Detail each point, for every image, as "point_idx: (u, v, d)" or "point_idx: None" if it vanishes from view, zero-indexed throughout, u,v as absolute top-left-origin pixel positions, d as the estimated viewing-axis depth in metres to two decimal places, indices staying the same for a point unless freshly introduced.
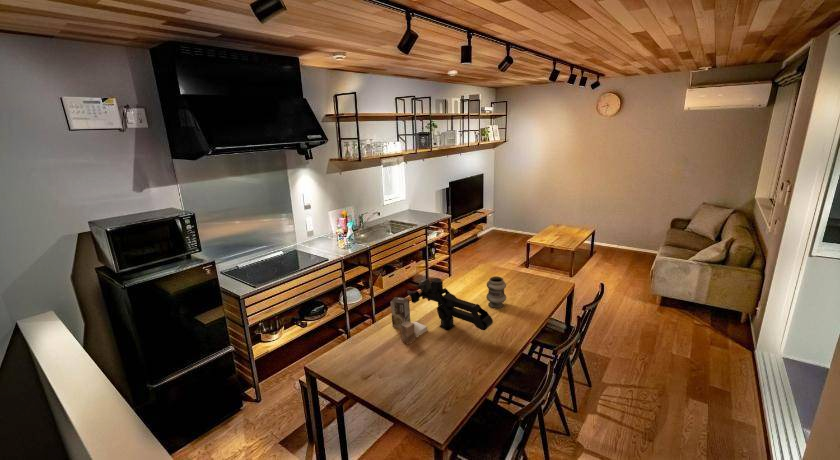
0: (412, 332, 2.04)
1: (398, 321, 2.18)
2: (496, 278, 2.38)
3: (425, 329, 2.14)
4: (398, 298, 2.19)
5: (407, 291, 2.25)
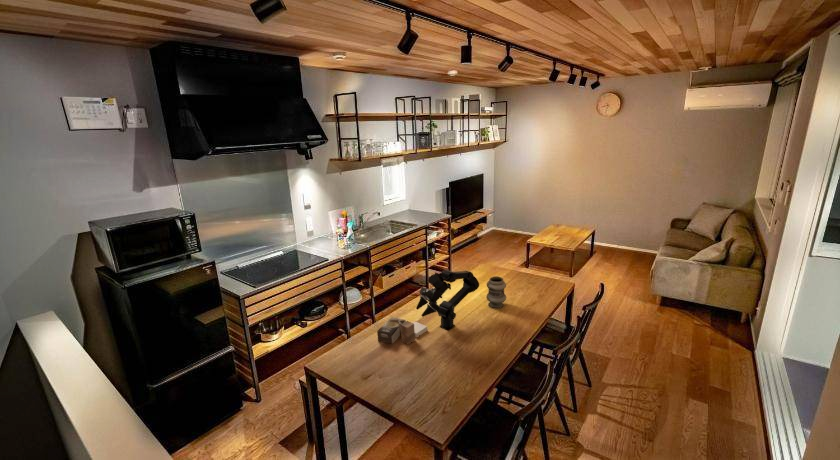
0: (412, 332, 2.04)
1: None
2: (496, 278, 2.38)
3: (425, 329, 2.14)
4: (381, 334, 2.05)
5: (422, 315, 2.03)
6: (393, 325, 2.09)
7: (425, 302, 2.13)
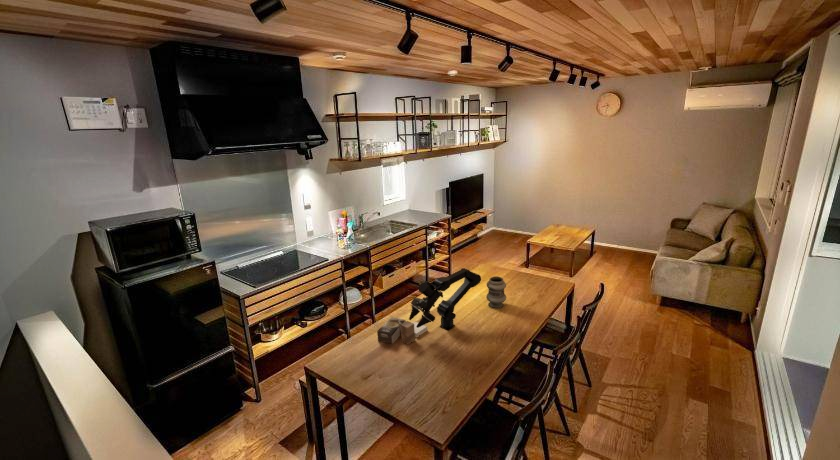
0: (412, 332, 2.04)
1: None
2: (496, 278, 2.38)
3: (425, 329, 2.14)
4: (381, 334, 2.05)
5: (417, 326, 2.01)
6: (393, 325, 2.09)
7: (417, 311, 2.11)
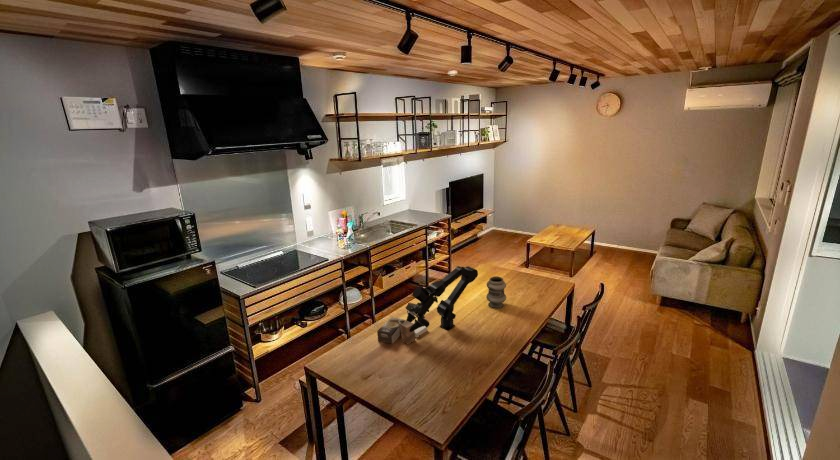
0: (412, 332, 2.04)
1: None
2: (496, 278, 2.38)
3: (425, 329, 2.14)
4: (381, 334, 2.05)
5: (410, 330, 2.01)
6: (393, 325, 2.09)
7: (413, 318, 2.09)
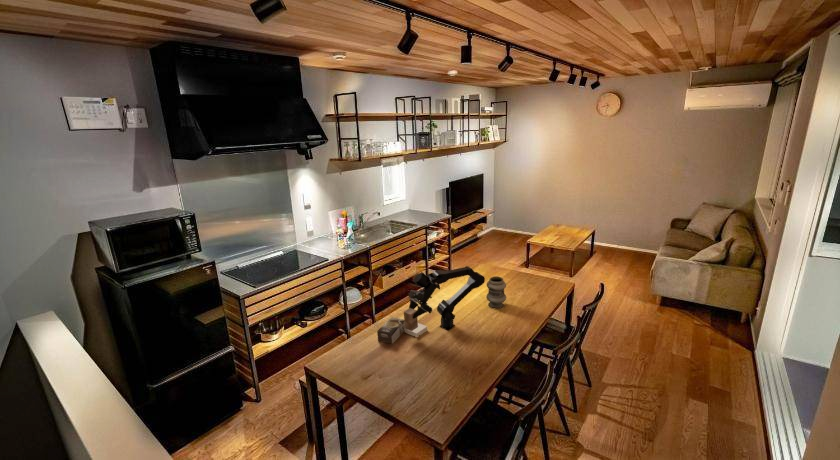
0: (415, 319, 2.05)
1: None
2: (496, 278, 2.38)
3: (425, 329, 2.14)
4: (381, 334, 2.05)
5: (413, 317, 2.02)
6: (393, 325, 2.09)
7: (415, 305, 2.10)
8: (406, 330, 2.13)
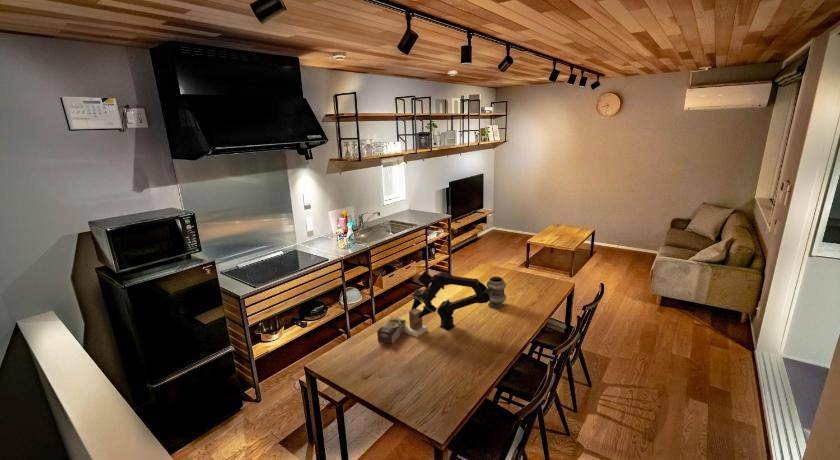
0: (420, 319, 2.12)
1: None
2: (496, 278, 2.38)
3: (425, 329, 2.14)
4: (381, 334, 2.05)
5: (419, 316, 2.08)
6: (393, 325, 2.09)
7: (419, 303, 2.18)
8: (406, 330, 2.13)
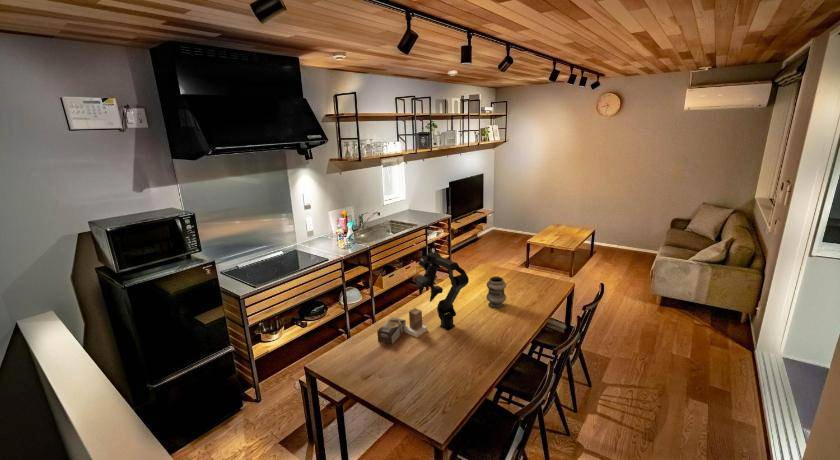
0: (420, 319, 2.12)
1: None
2: (496, 278, 2.38)
3: (425, 329, 2.14)
4: (381, 334, 2.05)
5: (430, 300, 2.20)
6: (393, 325, 2.09)
7: None
8: (406, 330, 2.13)
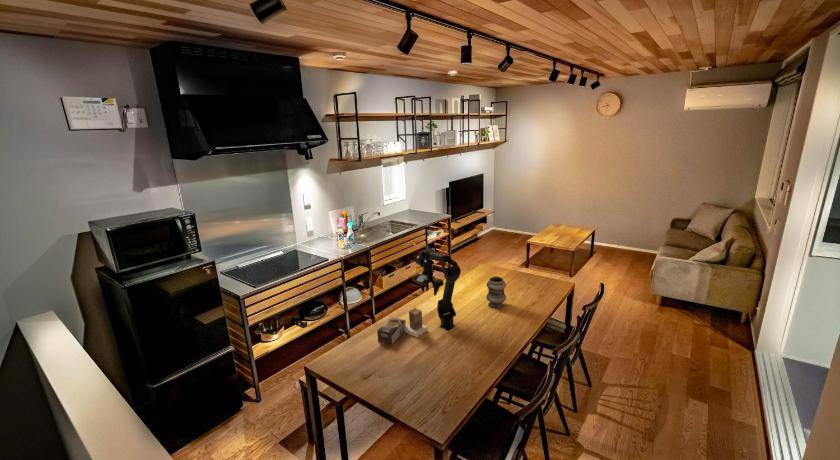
0: (420, 319, 2.12)
1: None
2: (496, 278, 2.38)
3: (425, 329, 2.14)
4: (381, 334, 2.05)
5: (434, 295, 2.27)
6: (393, 325, 2.09)
7: None
8: (406, 330, 2.13)
